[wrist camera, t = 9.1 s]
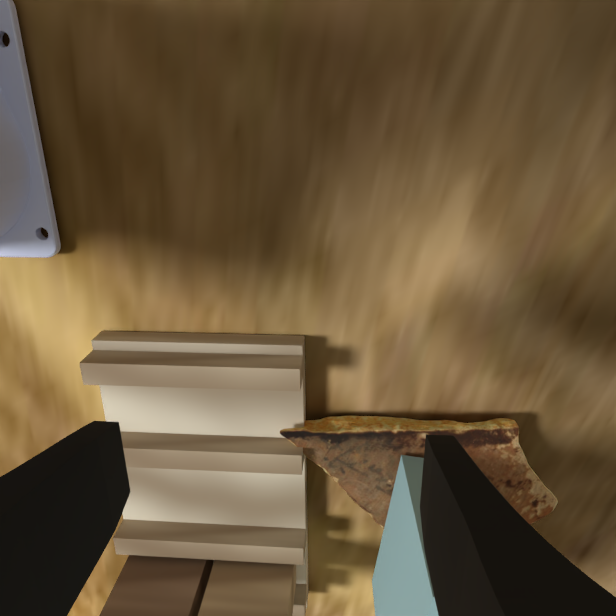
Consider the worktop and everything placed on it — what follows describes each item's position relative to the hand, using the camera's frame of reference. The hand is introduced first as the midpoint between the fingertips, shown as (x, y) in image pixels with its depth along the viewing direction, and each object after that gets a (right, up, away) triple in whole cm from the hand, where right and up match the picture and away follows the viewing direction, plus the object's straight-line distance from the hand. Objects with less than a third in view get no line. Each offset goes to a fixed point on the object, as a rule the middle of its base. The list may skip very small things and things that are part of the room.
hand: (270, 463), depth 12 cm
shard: (+6, -5, +13) cm, 15 cm away
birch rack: (-4, -4, +13) cm, 14 cm away
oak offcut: (-2, -9, +14) cm, 17 cm away
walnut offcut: (-6, -9, +14) cm, 18 cm away
